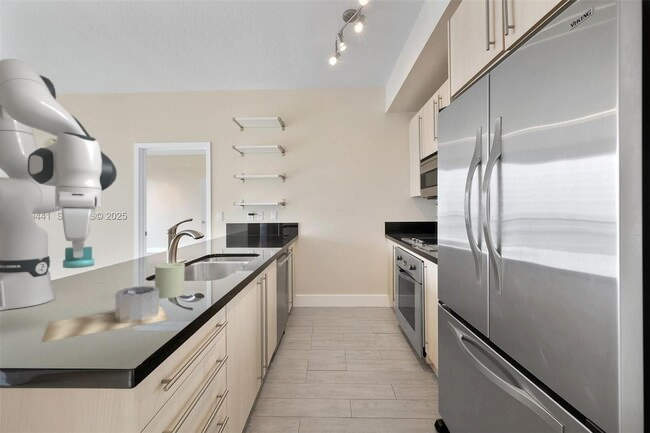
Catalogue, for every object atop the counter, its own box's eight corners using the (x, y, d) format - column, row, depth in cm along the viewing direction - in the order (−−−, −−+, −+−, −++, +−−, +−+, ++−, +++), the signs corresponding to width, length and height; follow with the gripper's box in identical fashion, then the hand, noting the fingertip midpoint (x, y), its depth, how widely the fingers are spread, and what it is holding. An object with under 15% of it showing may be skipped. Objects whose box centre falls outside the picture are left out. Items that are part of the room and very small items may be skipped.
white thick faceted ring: (106, 322, 78) (106, 295, 78) (133, 309, 88) (133, 285, 88) (143, 323, 78) (143, 296, 78) (166, 311, 88) (166, 286, 87)
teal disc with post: (61, 269, 71) (61, 249, 71) (64, 264, 76) (64, 246, 76) (93, 266, 75) (93, 248, 74) (94, 263, 79) (94, 245, 79)
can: (182, 301, 101) (182, 265, 101) (151, 303, 99) (151, 266, 98) (186, 294, 110) (186, 261, 110) (158, 295, 107) (158, 261, 107)
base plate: (41, 348, 66) (41, 342, 66) (50, 327, 78) (50, 322, 78) (168, 325, 81) (169, 319, 81) (160, 310, 92) (160, 305, 92)
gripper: (66, 199, 81) (65, 251, 82) (57, 198, 65) (56, 263, 65) (95, 200, 85) (95, 250, 85) (94, 200, 69) (93, 261, 69)
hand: (78, 256), depth 75 cm, fingers closed on teal disc with post, 2 cm apart
